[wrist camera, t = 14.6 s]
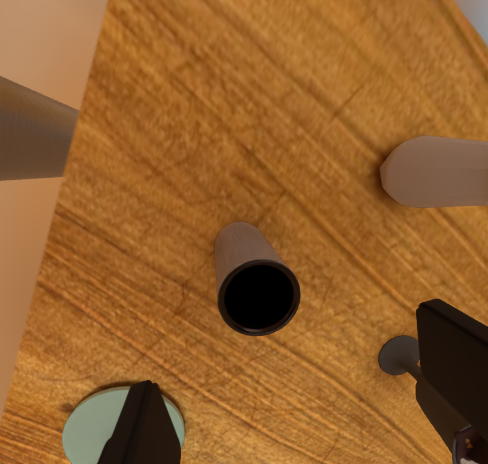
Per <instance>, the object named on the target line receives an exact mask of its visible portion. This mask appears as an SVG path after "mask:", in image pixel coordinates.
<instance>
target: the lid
mask: <svg viewBox="0 0 488 464" xmlns="http://www.w3.org/2000/svg"><path fill="white" fill-rule="evenodd" d="M130 387H131V386H123V387H114V388H109V389H106V390H102V391H100V392H97V393H95V394H93V395H91V396H89V397H88V398H86V399H85V400H84V401H82V402H81V403H80V404H79V405H78V406H77V407H76V408H75V409H74V410H73V411H72V413H71V414H70V416H69V418H68V420H67V421H66V424H65V426H64V429H63V434H62V443H63V449H64V452H65V454H66V456H67V458H68V460H69V461H70V462H71V464H97V462H98V460H99V457H100V455H101V452H102V450H103V447H104V445H105V443H106V441H107V440H108V439H109V438H111V436H112V434H113V431H114V428H115V426H116V423H117V421H118V418H119V415H120V413H121V410H122V407H123V405H124V402H125V400H126V397H127V394H128V392H129V389H130ZM162 397H163V399H164V402H165V405H166V407H167V410H168V412H169V415H170V418H171V420H172V423H173V425H174V428H175V430H176V433H177V436H178V438H179V441H180V445H181V449H182V446H183V442H184V436H185V426H184V421H183V418H182V415H181V413H180V412H179V410H178V409H177V407H176V406H175V405H174V404H173V403H172V402H171V401H170V400H169V399H167V398H166V397H165V396H163V395H162Z"/></svg>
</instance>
